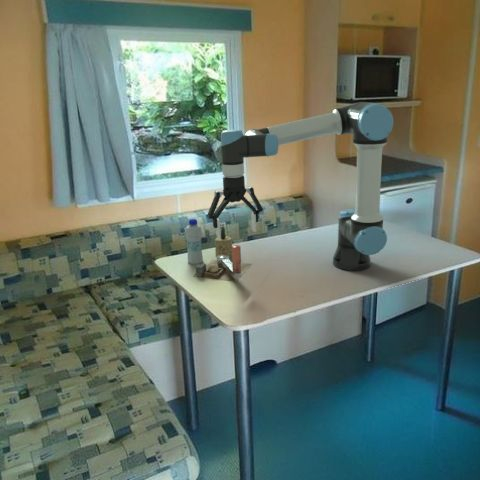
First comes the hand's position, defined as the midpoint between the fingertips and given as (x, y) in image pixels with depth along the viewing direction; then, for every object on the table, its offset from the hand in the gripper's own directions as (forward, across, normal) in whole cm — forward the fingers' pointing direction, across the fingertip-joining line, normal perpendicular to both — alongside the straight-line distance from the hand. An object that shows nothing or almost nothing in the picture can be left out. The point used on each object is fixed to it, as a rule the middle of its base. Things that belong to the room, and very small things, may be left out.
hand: (236, 233), depth 176 cm
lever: (+17, +1, -9) cm, 19 cm away
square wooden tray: (+21, +2, -15) cm, 26 cm away
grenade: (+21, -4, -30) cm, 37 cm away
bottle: (+21, +10, -28) cm, 37 cm away
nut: (+19, +6, -12) cm, 24 cm away
